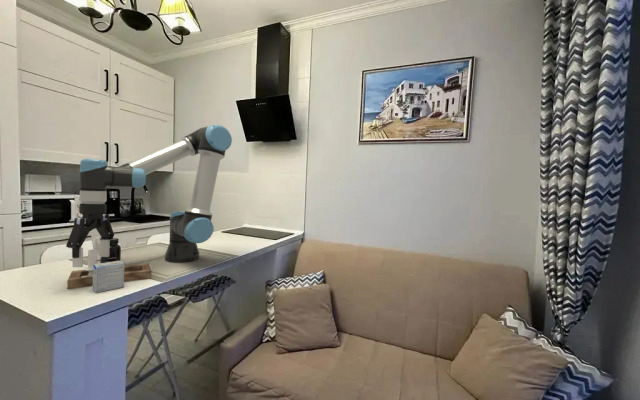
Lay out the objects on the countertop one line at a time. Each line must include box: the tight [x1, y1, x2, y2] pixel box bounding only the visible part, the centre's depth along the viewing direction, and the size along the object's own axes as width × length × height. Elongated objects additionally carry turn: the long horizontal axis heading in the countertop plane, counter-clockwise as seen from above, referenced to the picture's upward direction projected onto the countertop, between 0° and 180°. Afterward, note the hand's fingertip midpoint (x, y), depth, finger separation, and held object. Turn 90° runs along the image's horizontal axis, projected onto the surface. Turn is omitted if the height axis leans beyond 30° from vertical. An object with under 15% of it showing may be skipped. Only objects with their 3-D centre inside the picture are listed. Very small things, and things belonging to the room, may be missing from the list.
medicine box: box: [92, 261, 125, 294], centre depth 95 cm, size 8×4×9 cm, turn 141°
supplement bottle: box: [99, 237, 122, 264], centre depth 117 cm, size 7×7×12 cm
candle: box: [83, 247, 98, 276], centre depth 100 cm, size 5×5×12 cm
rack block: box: [66, 263, 152, 290], centre depth 104 cm, size 24×11×3 cm, turn 125°
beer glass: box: [90, 228, 110, 261], centre depth 128 cm, size 7×7×15 cm
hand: (92, 261), depth 100 cm, fingers open, 13 cm apart
